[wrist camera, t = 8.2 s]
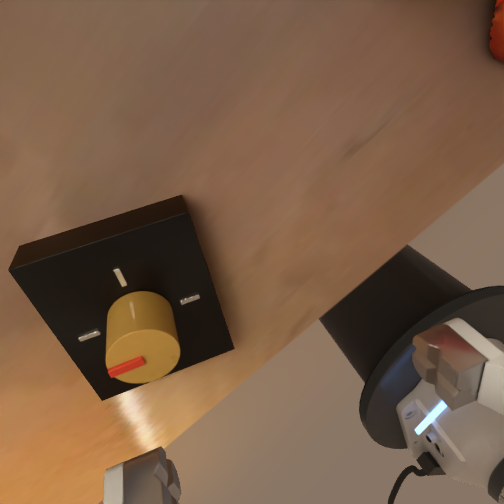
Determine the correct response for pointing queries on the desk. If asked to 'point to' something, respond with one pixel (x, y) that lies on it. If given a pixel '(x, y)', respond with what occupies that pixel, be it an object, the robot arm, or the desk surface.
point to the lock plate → (123, 285)
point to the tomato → (498, 32)
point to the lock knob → (141, 338)
